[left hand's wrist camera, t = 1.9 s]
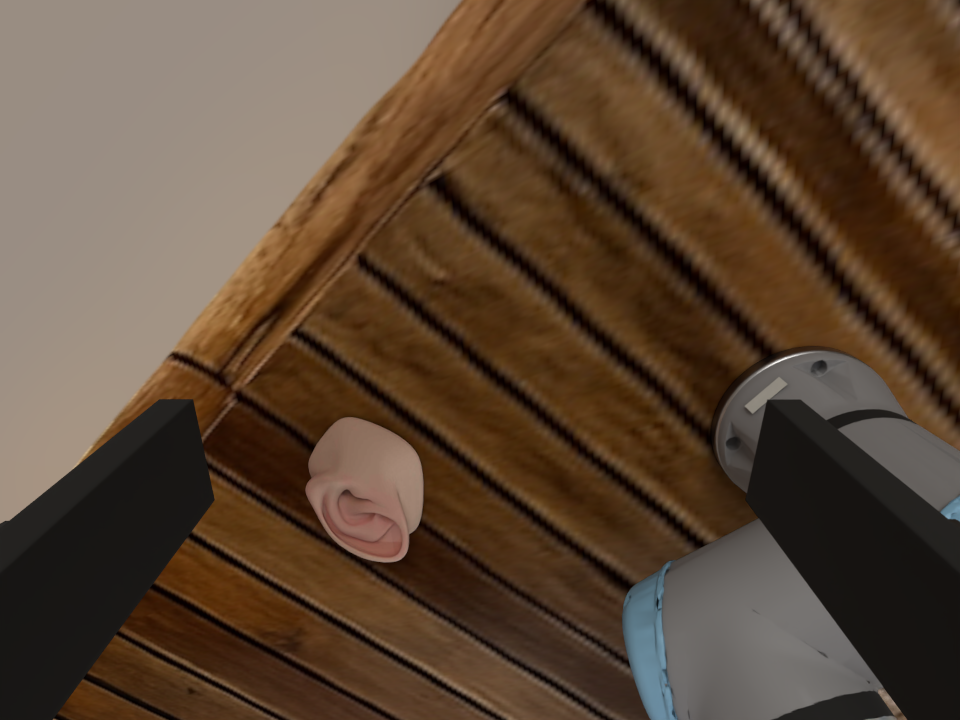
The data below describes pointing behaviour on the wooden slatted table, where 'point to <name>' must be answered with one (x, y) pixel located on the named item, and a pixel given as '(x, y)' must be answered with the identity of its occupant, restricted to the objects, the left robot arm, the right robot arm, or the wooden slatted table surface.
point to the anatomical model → (366, 489)
